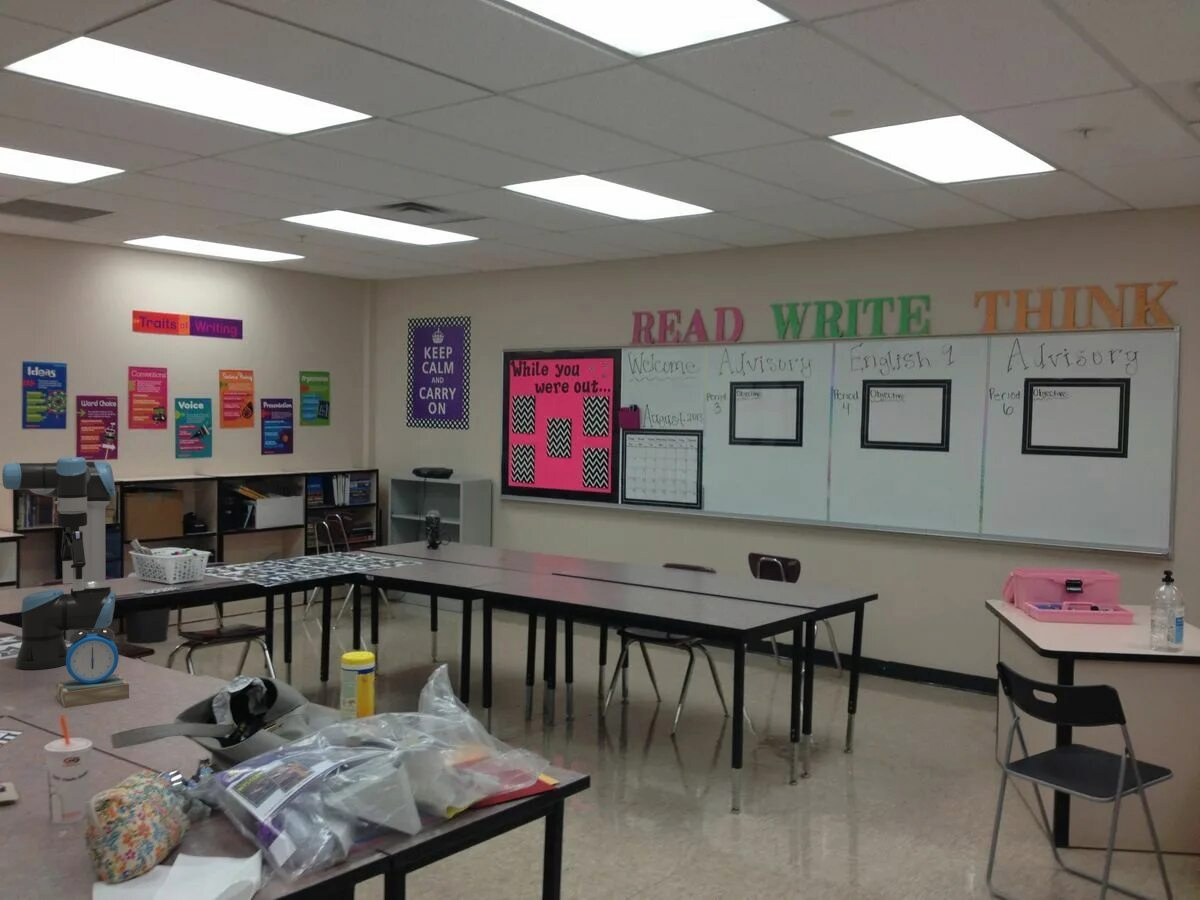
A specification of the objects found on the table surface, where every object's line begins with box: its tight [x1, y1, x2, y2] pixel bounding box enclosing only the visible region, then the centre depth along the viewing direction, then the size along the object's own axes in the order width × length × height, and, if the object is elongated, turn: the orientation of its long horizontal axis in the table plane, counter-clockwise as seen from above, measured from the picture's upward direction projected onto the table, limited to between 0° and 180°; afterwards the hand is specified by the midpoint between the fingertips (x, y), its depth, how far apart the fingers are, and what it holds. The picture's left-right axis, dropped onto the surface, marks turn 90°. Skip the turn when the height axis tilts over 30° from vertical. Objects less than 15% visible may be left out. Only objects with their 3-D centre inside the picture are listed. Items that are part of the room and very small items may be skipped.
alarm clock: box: [65, 627, 119, 685], centre depth 286 cm, size 13×6×15 cm, turn 117°
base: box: [56, 673, 130, 708], centre depth 286 cm, size 14×16×4 cm
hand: (73, 587), depth 289 cm, fingers open, 13 cm apart
